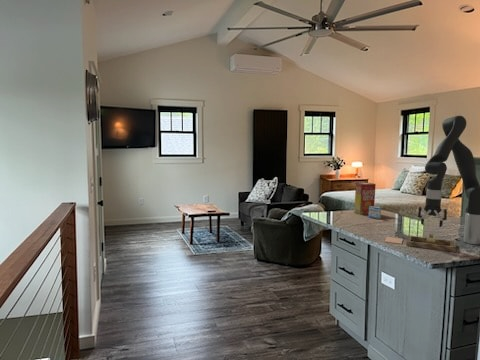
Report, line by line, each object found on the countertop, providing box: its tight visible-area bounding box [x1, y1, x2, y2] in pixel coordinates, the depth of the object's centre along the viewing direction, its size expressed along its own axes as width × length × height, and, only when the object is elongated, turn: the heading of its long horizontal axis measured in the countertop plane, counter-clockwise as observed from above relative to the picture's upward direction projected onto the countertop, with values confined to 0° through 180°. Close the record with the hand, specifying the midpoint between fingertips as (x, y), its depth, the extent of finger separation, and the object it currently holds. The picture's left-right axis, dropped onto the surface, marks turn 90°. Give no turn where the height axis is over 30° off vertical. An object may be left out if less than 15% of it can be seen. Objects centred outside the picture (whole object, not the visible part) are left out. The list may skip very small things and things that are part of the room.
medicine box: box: [368, 206, 382, 220], centre depth 278 cm, size 8×4×9 cm, turn 47°
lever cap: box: [425, 233, 436, 244], centre depth 203 cm, size 4×7×6 cm, turn 152°
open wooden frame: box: [406, 235, 457, 253], centre depth 203 cm, size 24×15×2 cm, turn 62°
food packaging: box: [353, 182, 376, 216], centre depth 295 cm, size 13×9×25 cm
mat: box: [384, 236, 404, 245], centre depth 212 cm, size 9×12×1 cm
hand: (431, 226), depth 202 cm, fingers open, 8 cm apart
